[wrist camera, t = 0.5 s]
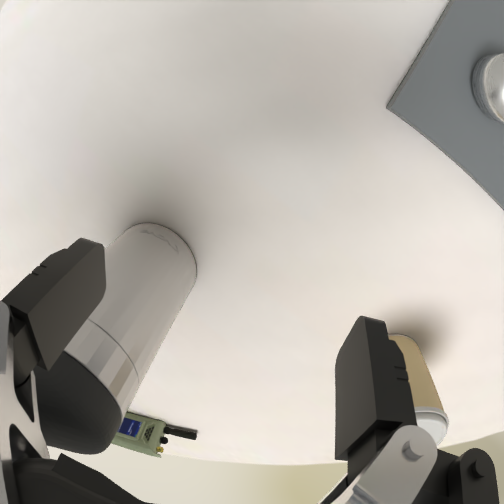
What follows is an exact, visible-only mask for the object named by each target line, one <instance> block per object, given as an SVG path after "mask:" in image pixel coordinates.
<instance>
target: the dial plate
mask: <svg viewBox="0 0 504 504" xmlns="http://www.w3.org/2000/svg"><path fill="white" fill-rule="evenodd" d="M502 53H504V0H450V1H449V3H448V5H447V7H446V8H445V10H444V12H443V14H442V15H441V17H440V19H439V21H438V22H437V24H436V26H435V28H434V29H433V31H432V33H431V34H430V36H429V38H428V39H427V41H426V43H425V45H424V46H423V48H422V50H421V51H420V53H419V55H418V56H417V58H416V60H415V61H414V63H413V65H412V66H411V68H410V70H409V71H408V73H407V75H406V76H405V78H404V79H403V81H402V83H401V84H400V86H399V88H398V89H397V91H396V92H395V94H394V96H393V97H392V99H391V101H390V102H389V104H388V105H387V107H386V108H387V109H389V110H390V111H391V112H393V113H394V114H396V115H397V116H398V117H400V118H401V119H402V120H404V121H405V122H406V123H408V124H409V125H410V126H412V127H413V128H414V129H415V130H417V131H418V132H419V133H421V134H422V135H423V136H424V137H426V138H427V139H428V140H429V141H431V142H432V143H433V144H434V145H435V146H437V147H438V148H439V149H440V150H441V151H442V152H444V153H445V154H446V155H447V156H448V157H449V158H451V159H452V160H453V161H454V162H455V163H456V164H457V165H458V166H459V167H461V168H462V169H463V170H464V171H465V172H466V173H467V174H468V175H469V176H470V177H471V178H472V179H473V180H474V181H475V182H476V183H477V184H479V185H480V186H481V187H482V188H483V189H484V190H485V191H486V192H487V193H488V194H489V195H490V197H491V198H492V199H493V200H494V201H495V202H496V203H497V204H498V205H499V206H500V207H501V208H502V209H503V210H504V124H501V123H497V122H495V121H493V120H491V119H490V118H489V117H488V116H486V115H485V113H484V112H483V111H482V110H481V108H480V106H479V105H478V103H477V101H476V98H475V95H474V91H473V84H472V78H473V72H474V68H475V66H476V64H477V63H478V61H479V60H480V59H481V58H483V57H485V56H487V55H493V54H502Z"/></svg>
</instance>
